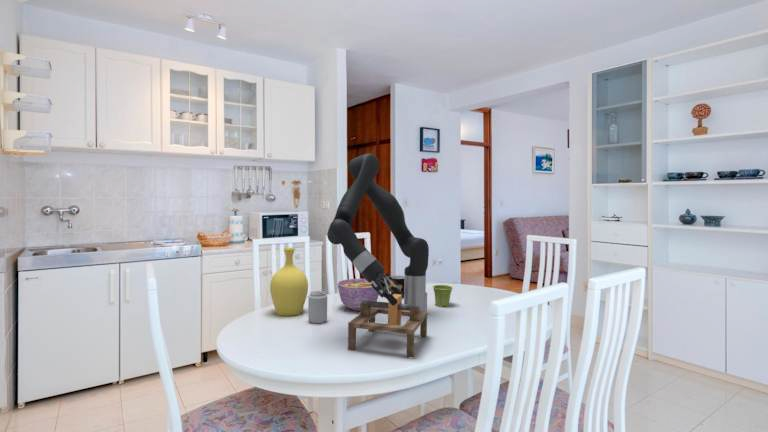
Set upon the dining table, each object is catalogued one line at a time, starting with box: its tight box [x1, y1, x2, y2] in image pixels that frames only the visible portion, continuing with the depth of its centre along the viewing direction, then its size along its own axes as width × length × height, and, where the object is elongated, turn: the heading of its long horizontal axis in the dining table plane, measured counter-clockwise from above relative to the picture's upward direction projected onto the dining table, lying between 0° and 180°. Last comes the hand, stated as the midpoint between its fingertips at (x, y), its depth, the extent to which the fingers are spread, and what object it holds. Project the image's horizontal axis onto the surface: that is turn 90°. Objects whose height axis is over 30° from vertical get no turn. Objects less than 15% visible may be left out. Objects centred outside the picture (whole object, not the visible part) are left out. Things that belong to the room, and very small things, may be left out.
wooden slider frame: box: [347, 300, 428, 358], centre depth 147 cm, size 22×22×14 cm
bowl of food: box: [336, 278, 380, 312], centre depth 191 cm, size 20×20×12 cm
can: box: [307, 290, 328, 325], centre depth 170 cm, size 8×8×12 cm
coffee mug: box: [389, 275, 404, 295], centre depth 214 cm, size 12×9×10 cm
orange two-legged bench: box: [387, 294, 403, 326], centre depth 146 cm, size 3×6×11 cm, turn 163°
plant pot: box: [432, 284, 454, 308], centre depth 198 cm, size 9×9×9 cm
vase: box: [269, 247, 309, 317], centre depth 182 cm, size 16×16×28 cm
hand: (399, 301), depth 145 cm, fingers open, 8 cm apart
